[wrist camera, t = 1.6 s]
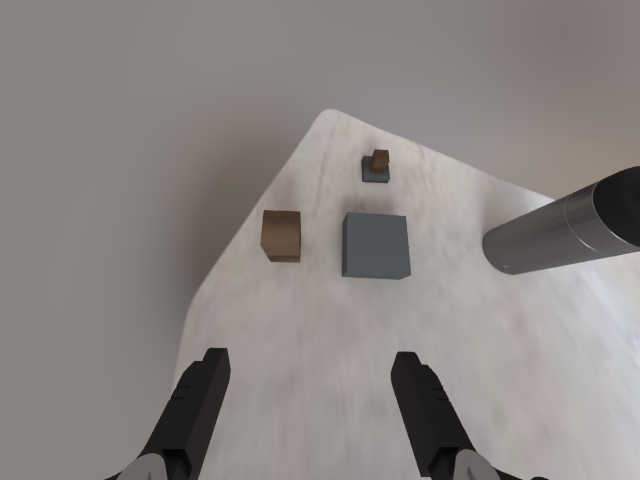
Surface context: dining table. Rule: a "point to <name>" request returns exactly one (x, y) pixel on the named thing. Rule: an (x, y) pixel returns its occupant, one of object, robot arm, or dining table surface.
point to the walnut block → (281, 235)
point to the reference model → (376, 167)
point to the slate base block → (375, 246)
